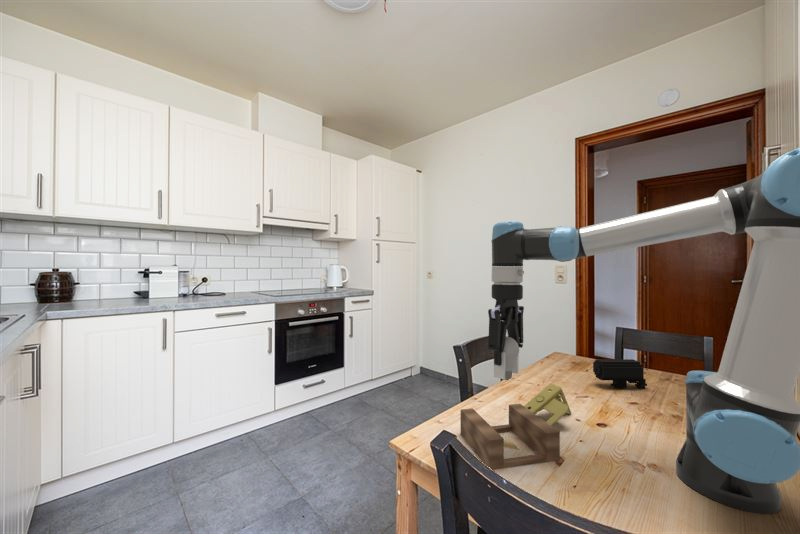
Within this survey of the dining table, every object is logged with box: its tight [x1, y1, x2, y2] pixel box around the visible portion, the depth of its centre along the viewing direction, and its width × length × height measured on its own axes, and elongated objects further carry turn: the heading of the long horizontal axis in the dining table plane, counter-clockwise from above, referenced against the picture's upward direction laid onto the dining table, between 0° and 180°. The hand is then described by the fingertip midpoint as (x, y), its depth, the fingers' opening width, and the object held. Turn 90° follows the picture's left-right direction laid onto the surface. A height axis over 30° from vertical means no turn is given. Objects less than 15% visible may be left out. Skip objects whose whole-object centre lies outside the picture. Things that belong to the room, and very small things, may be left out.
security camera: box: [592, 358, 648, 389], centre depth 123 cm, size 7×18×10 cm, turn 89°
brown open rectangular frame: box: [460, 403, 561, 471], centre depth 80 cm, size 16×18×7 cm
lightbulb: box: [503, 335, 520, 381], centre depth 81 cm, size 6×6×11 cm
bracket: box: [523, 383, 572, 427], centre depth 94 cm, size 10×14×10 cm
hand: (506, 374), depth 81 cm, fingers closed on lightbulb, 6 cm apart
